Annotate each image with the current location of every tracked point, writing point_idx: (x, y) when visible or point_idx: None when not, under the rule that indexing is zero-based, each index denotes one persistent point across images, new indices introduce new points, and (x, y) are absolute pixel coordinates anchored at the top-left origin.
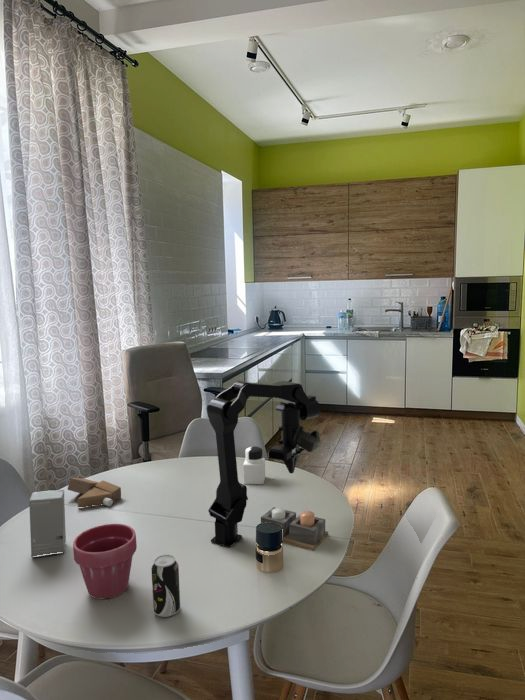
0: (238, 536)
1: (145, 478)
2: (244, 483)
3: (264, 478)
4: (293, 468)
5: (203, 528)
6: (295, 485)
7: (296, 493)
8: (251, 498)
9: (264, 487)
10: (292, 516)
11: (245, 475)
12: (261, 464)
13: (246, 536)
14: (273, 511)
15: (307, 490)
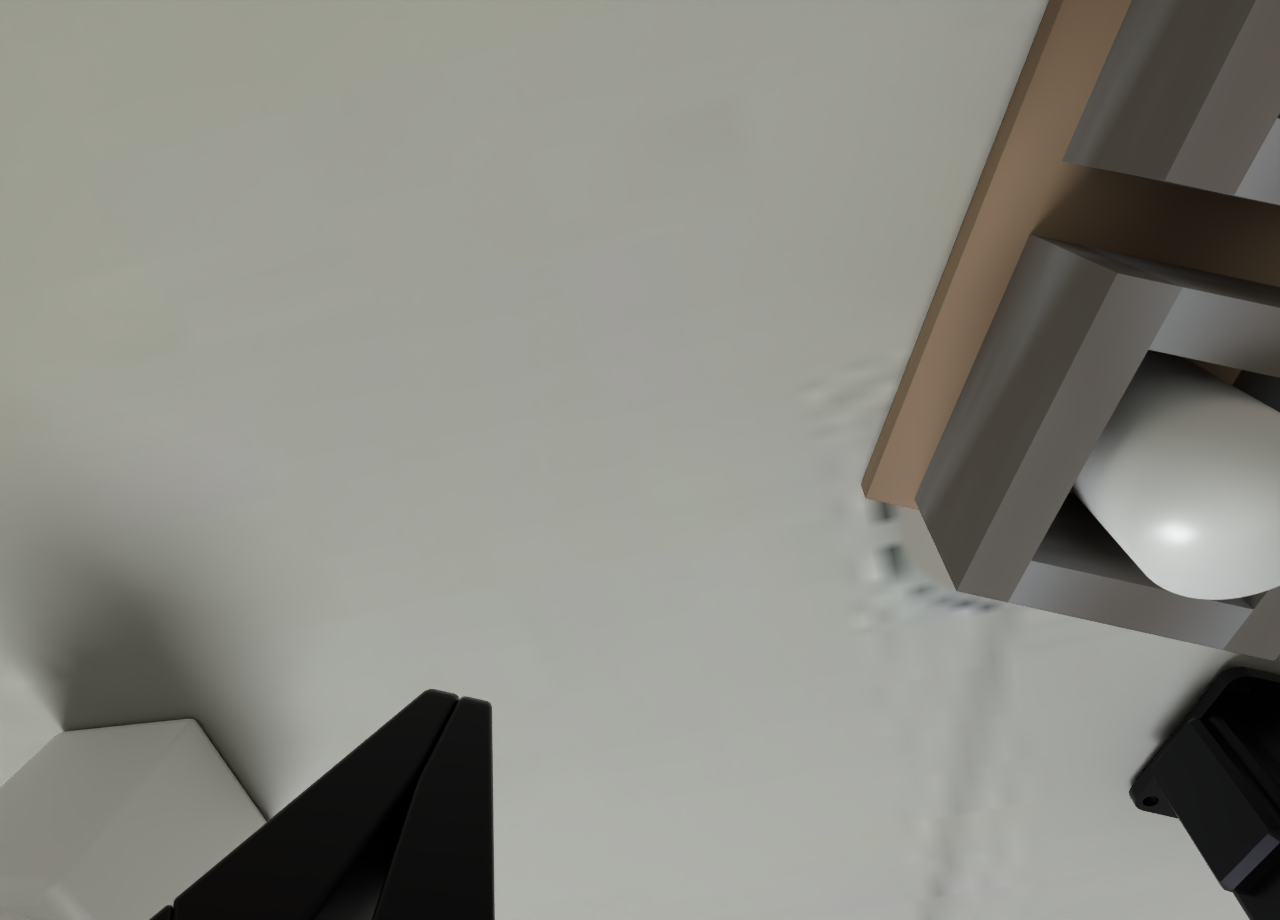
0: (1256, 697)
1: None
2: None
3: (109, 736)
4: (438, 792)
5: (1059, 899)
6: (36, 479)
7: (189, 430)
8: None
9: (238, 698)
10: (1235, 296)
11: None
12: (47, 898)
13: None
14: (1257, 576)
15: (57, 340)
